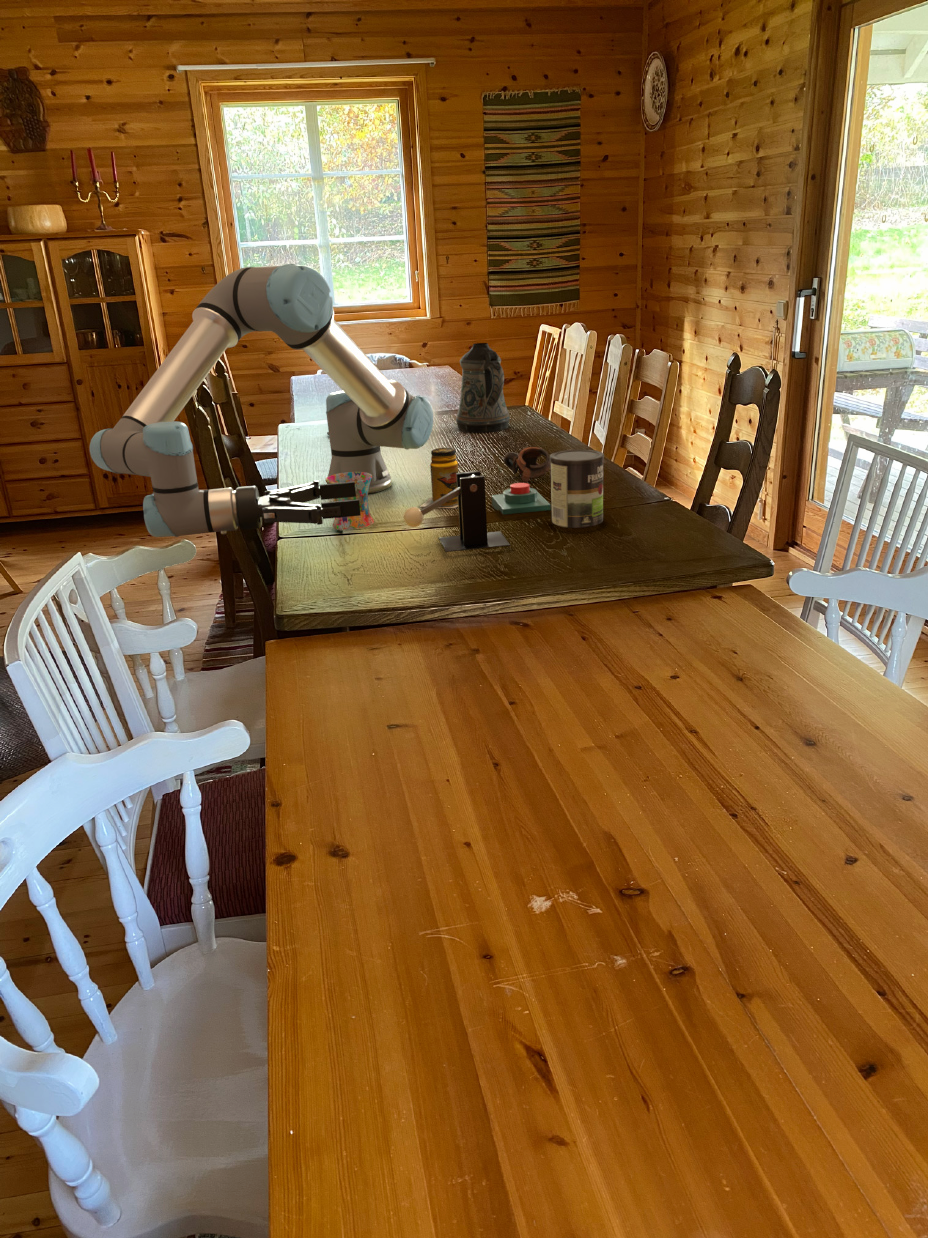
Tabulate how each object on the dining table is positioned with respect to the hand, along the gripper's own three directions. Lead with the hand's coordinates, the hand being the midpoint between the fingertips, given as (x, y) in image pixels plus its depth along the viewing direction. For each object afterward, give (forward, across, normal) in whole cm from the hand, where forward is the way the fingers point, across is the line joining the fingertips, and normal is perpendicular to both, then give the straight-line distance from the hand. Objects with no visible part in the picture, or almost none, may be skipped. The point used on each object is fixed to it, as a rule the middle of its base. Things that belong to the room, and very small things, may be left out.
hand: (357, 497), depth 164 cm
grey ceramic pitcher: (+46, -116, -11) cm, 125 cm away
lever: (+16, 0, -4) cm, 16 cm away
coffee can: (+43, -7, -12) cm, 45 cm away
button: (+35, -22, -8) cm, 42 cm away
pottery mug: (+43, -49, -11) cm, 66 cm away
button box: (+35, -22, -11) cm, 43 cm away
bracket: (+21, 0, -11) cm, 24 cm away
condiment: (+20, -33, -12) cm, 40 cm away
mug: (0, -22, -12) cm, 25 cm away
